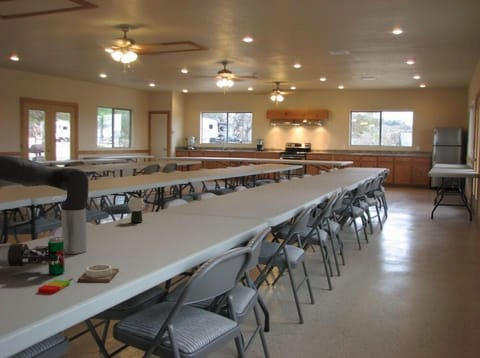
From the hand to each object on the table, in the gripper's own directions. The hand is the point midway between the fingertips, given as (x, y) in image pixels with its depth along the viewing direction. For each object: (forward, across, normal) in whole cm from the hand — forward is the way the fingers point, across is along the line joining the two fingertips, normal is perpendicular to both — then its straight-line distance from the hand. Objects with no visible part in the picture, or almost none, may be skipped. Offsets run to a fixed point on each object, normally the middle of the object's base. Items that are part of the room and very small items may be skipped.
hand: (61, 254), depth 157 cm
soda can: (-2, 0, +7) cm, 7 cm away
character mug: (+14, +93, +7) cm, 94 cm away
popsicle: (+3, -13, +7) cm, 16 cm away
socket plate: (+13, -4, +6) cm, 15 cm away
